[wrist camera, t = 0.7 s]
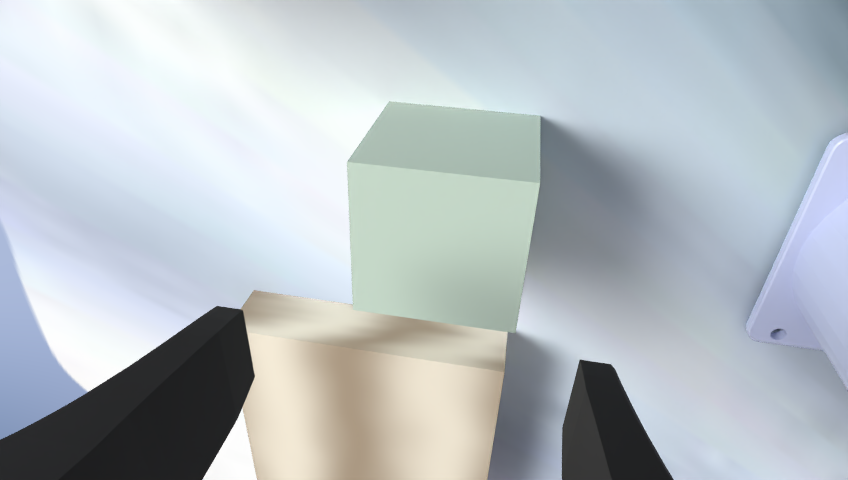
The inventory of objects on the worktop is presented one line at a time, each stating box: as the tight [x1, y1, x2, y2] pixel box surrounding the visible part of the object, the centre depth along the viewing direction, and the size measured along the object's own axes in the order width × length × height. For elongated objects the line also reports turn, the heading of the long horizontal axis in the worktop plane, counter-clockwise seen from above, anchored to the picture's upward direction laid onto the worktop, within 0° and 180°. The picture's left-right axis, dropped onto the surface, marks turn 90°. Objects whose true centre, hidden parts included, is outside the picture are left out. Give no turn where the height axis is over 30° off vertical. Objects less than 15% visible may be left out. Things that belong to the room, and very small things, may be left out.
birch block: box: [240, 290, 508, 480], centre depth 26 cm, size 11×11×3 cm
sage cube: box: [347, 102, 540, 333], centre depth 18 cm, size 5×5×5 cm
